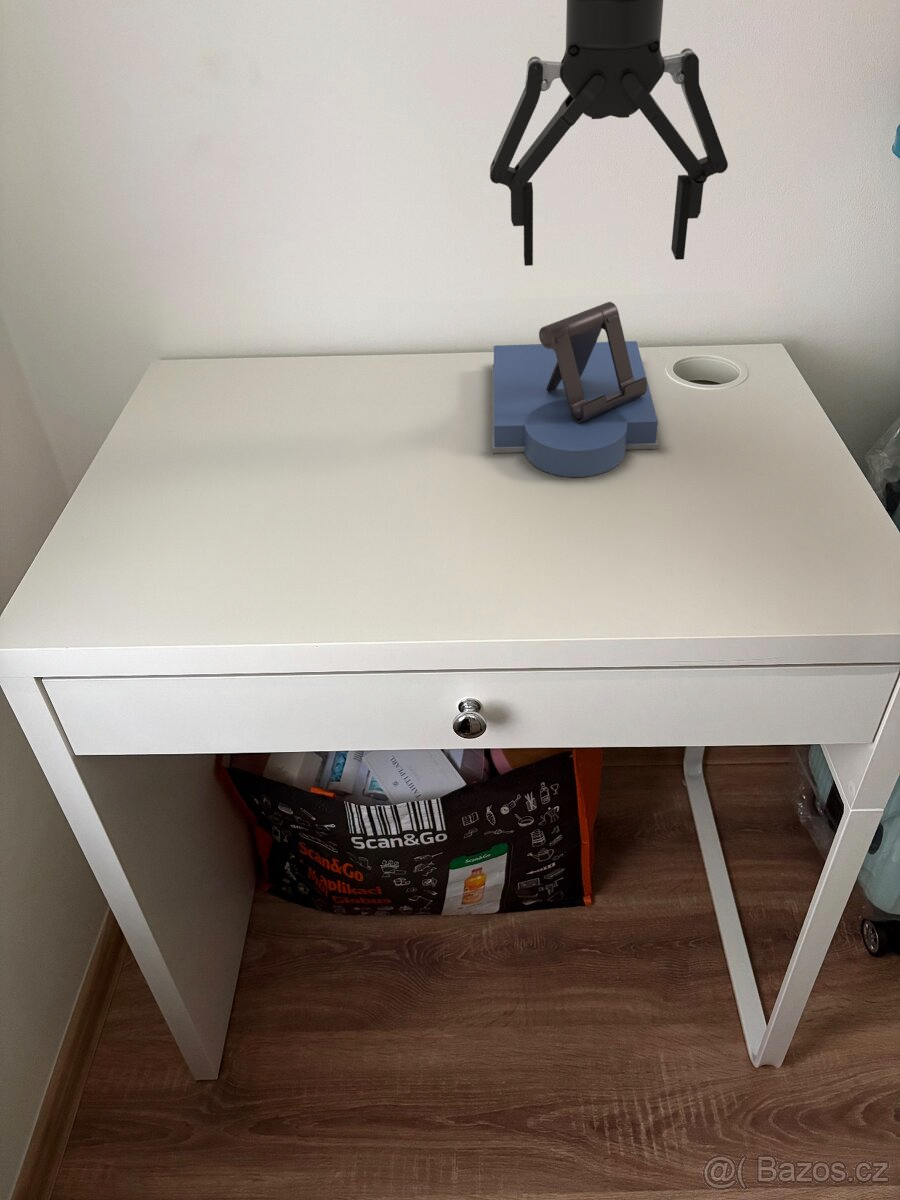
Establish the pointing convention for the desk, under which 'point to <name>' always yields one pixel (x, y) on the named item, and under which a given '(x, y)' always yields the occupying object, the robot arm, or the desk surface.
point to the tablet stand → (574, 351)
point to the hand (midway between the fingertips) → (602, 257)
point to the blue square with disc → (566, 412)
